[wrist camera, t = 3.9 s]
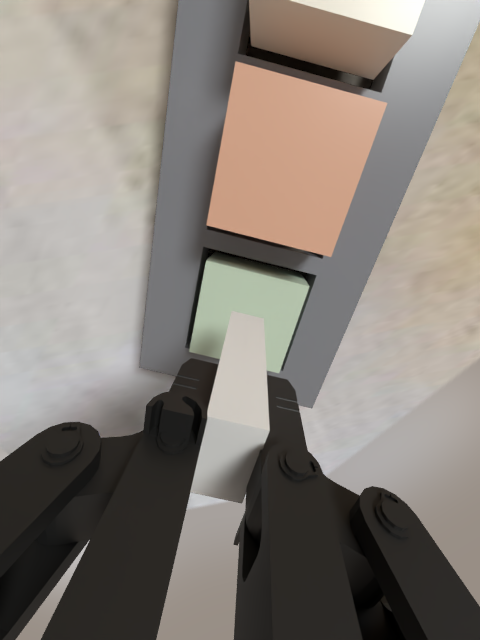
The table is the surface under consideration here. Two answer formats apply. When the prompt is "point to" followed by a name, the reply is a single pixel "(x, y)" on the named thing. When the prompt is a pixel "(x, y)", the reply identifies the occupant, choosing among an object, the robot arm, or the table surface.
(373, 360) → the table surface
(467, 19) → the keypad board
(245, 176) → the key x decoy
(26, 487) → the robot arm
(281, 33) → the cream square block
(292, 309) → the key
